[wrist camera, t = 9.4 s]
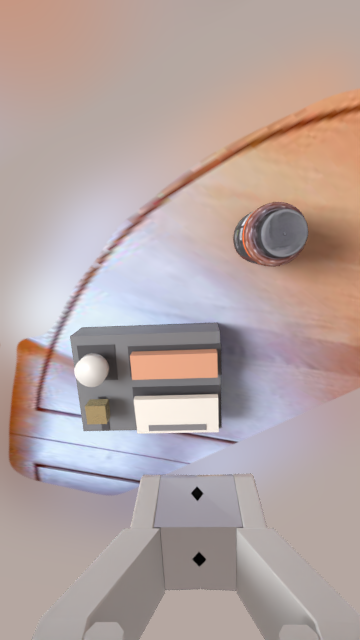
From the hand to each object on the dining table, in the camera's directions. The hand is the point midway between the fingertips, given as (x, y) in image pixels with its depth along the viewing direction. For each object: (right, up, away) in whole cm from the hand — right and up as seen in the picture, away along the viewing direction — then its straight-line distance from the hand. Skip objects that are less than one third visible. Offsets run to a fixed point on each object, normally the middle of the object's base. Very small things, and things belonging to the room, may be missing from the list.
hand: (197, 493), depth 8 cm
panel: (-4, -2, +33) cm, 33 cm away
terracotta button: (-1, 0, +27) cm, 27 cm away
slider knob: (-10, -6, +30) cm, 32 cm away
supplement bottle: (+9, +15, +28) cm, 33 cm away
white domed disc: (-11, -1, +27) cm, 29 cm away
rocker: (-1, -7, +28) cm, 29 cm away
